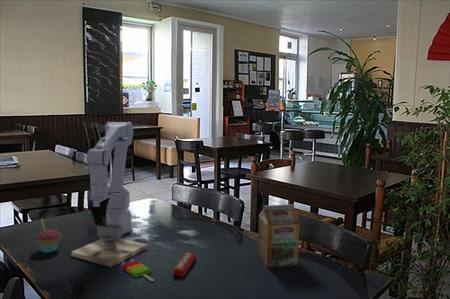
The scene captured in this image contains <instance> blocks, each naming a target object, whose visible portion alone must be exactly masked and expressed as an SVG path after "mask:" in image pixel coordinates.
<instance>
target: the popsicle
mask: <svg viewBox="0 0 450 299" xmlns="http://www.w3.org/2000/svg"><path fill="white" fill-rule="evenodd" d="M121 266H122V267H121V269H122V270H123V271H125V272H126V273H128V274H129V275H131V277H133V278H135V279H137V278H139V277H140V278H141V277H144V278H145V279H147V280H148V281H150V282H154V281H155V279H153V277H150V276H149V274H151V273H152V270H151V268H149V267H148V266H146V265H144V264H143V263H141V262H140V261H138V260H131V261H129V262H128V261H127V262H124V263H123V264H122V265H121Z"/></svg>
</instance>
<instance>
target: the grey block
mask: <svg viewBox="0 0 450 299" xmlns="http://www.w3.org/2000/svg"><path fill="white" fill-rule="evenodd" d="M96 236H97V237H98V238H99V239H101V241H103V242H113V241H119V240H121V238H122V236H123V235H122V225H114V224H107V222H106V223H105V222H102V225H96Z"/></svg>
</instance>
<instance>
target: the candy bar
mask: <svg viewBox="0 0 450 299" xmlns="http://www.w3.org/2000/svg"><path fill="white" fill-rule="evenodd" d="M196 257H197V256H196V254H195V253H193V252H189V251H187V252H186V253H185V254H184V255H183V257H181V259H180V260H179V262H178V263H177V264H176V266H175V267H174V269H173V272H172V273H173V275H175V276H177V277H179V278H184V276H185V275H186V273H187V272H188V271H189V269H190V268H191V266H192V265H193V264H194V262H195V260H196Z"/></svg>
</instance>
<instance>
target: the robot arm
mask: <svg viewBox="0 0 450 299" xmlns="http://www.w3.org/2000/svg"><path fill="white" fill-rule="evenodd" d="M104 131H105V136H103V137H101V138H99V140H98V142H97V143H96V144H95V146H94V148H91V149H89V150H87V153H86V163H87V168H88V171H89V176H90V177H89V178H90V180H89V181H90V182H89V183H90V197H89V199H90V200H91V201H92V203H91V204H89V205H88V209H89V211H90V213H91V214H92V218H93V222H94V225H95V226H97V225H102V223H104V222H103V220H104V219H105V218H106V223H107V224H114V225H122V236H123V235H125V234H127V233H129V232H131V231H133V230H134V228H132V213H131V211H130V210H129V207H130V202H131V200H130V191H129V190H128V188H126V187H125V186H124V181H125V171H126V163H127V162H126V161H127V152H128V147H129V146H130V145H132V144H133V137H134V126H133V123H132V122H131V121H127V122H125V121H124V122H123V121H117V122H116V121H107V122H106V124H105V127H104ZM113 150H114V154H113V155H114V156H113V161H112V172H111V179H110V185H109V186H108V184H109V183H108V182H109V179H108V166H109V164H110V158H111V153H112V151H113Z"/></svg>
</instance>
